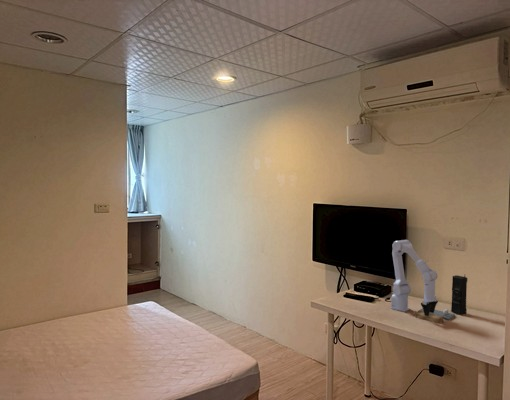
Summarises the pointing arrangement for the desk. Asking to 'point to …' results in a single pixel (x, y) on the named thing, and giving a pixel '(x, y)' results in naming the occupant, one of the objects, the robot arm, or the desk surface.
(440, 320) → the shelf board
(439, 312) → the peg stand
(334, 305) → the desk surface
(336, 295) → the desk surface
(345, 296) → the desk surface
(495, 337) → the desk surface
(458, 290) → the portable radio
